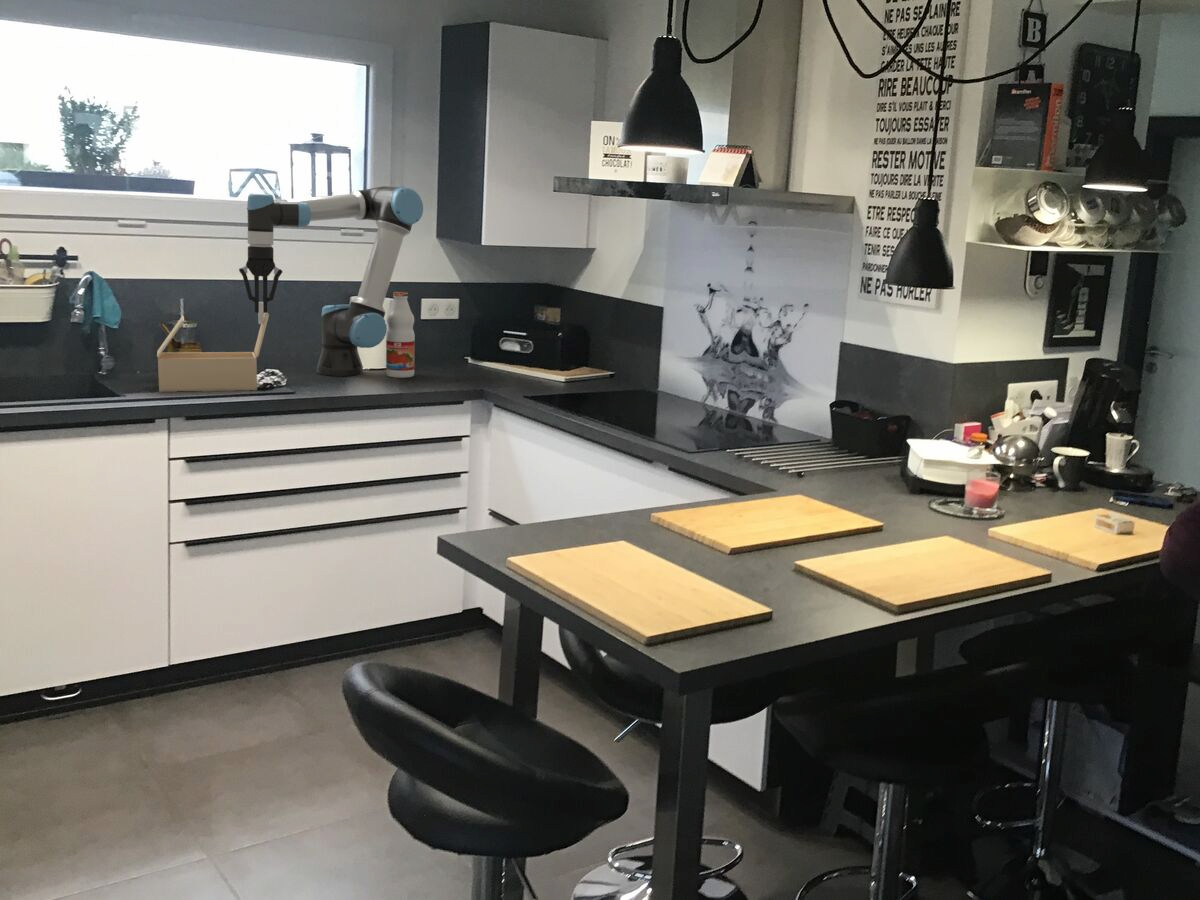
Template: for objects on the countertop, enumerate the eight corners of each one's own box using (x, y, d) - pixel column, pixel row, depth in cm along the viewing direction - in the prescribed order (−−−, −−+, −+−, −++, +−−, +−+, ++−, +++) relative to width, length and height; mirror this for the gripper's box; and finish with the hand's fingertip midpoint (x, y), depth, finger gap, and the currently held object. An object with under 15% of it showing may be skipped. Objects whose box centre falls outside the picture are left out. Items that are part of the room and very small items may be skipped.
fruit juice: (417, 374, 402) (418, 292, 396) (409, 378, 393) (410, 294, 387) (391, 373, 403) (391, 290, 397) (382, 377, 394) (382, 292, 388)
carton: (254, 383, 371) (253, 352, 369) (257, 390, 359) (256, 358, 357) (159, 385, 362) (158, 352, 360) (159, 392, 350) (157, 358, 348)
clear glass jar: (162, 376, 378) (160, 320, 374) (206, 376, 382) (204, 320, 378) (159, 380, 370) (157, 323, 366) (205, 380, 373) (203, 323, 370)
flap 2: (254, 351, 369) (255, 351, 369) (256, 356, 357) (258, 357, 358) (264, 310, 367) (266, 310, 367) (267, 314, 356) (269, 315, 356)
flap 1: (158, 357, 348) (156, 356, 348) (158, 351, 360) (157, 350, 359) (184, 321, 348) (182, 320, 348) (183, 316, 360) (182, 315, 360)
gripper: (281, 245, 362) (281, 322, 367) (237, 244, 358) (238, 321, 363) (283, 247, 356) (283, 325, 360) (238, 245, 351) (239, 324, 356)
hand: (260, 323), depth 362 cm, fingers closed
